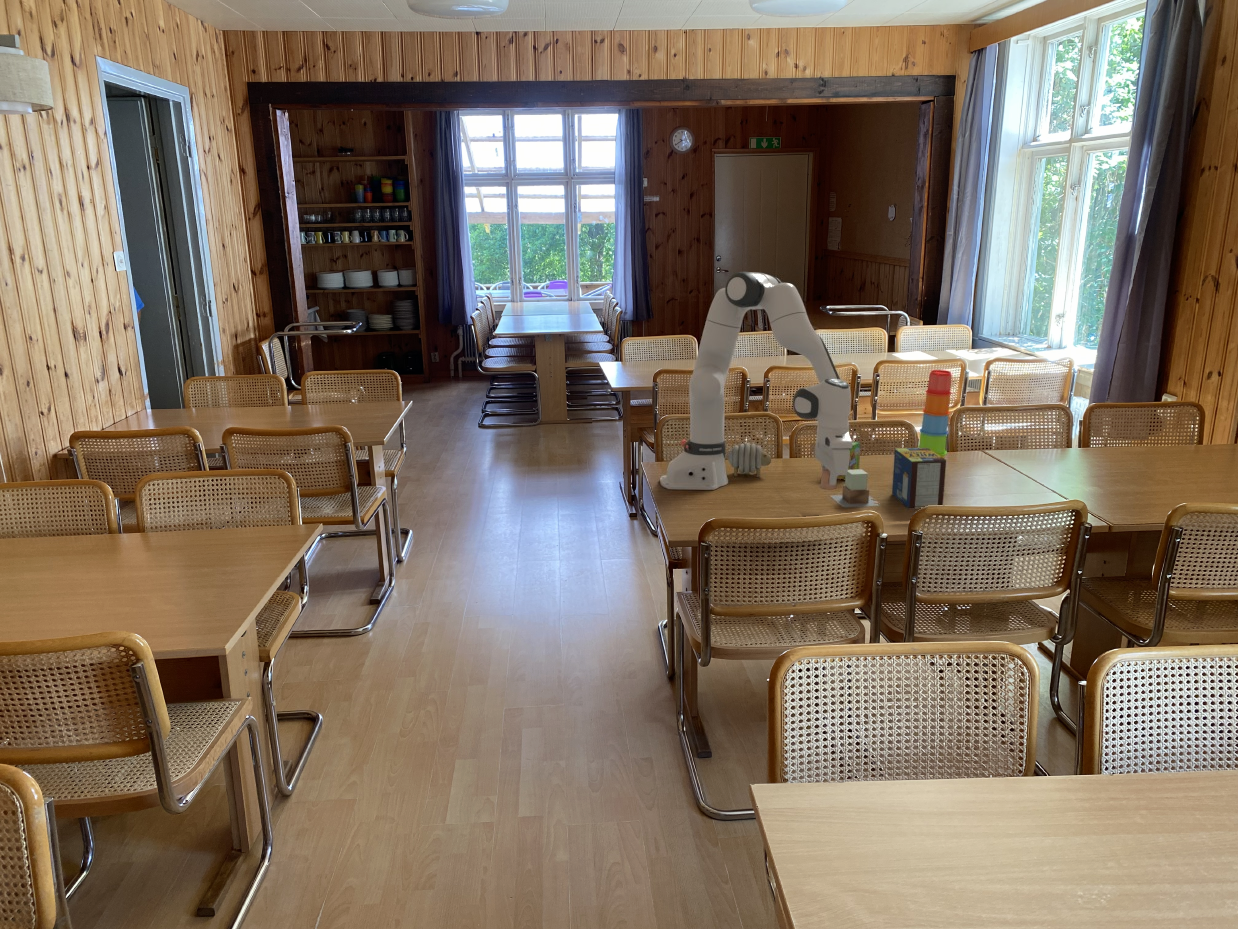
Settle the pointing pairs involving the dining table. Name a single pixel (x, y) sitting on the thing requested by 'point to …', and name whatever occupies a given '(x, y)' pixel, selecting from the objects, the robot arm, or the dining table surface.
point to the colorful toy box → (853, 458)
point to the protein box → (918, 477)
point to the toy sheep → (748, 458)
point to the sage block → (856, 479)
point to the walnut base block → (855, 495)
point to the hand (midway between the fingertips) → (828, 481)
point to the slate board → (845, 504)
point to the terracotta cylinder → (826, 480)
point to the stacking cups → (936, 412)
